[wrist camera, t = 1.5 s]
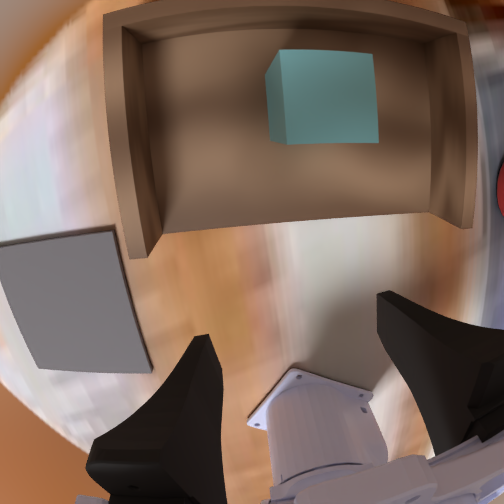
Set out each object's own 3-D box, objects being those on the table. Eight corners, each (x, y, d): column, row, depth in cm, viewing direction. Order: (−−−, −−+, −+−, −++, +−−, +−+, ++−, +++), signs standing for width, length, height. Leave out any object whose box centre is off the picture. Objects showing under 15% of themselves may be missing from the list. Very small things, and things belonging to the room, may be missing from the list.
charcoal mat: (114, 229, 20) (112, 231, 19) (152, 370, 24) (151, 373, 24) (-7, 247, 19) (-10, 249, 19) (40, 365, 24) (38, 368, 23)
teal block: (336, 138, 18) (378, 143, 12) (270, 140, 18) (286, 144, 12) (331, 74, 16) (372, 54, 11) (264, 74, 16) (279, 49, 11)
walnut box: (435, 209, 20) (472, 228, 16) (149, 232, 20) (129, 259, 16) (428, 35, 16) (465, 22, 11) (128, 36, 15) (103, 14, 11)
